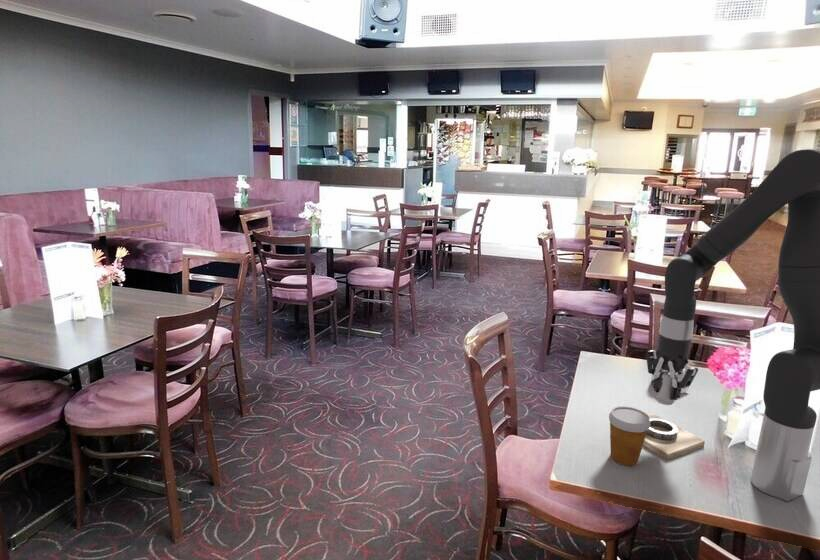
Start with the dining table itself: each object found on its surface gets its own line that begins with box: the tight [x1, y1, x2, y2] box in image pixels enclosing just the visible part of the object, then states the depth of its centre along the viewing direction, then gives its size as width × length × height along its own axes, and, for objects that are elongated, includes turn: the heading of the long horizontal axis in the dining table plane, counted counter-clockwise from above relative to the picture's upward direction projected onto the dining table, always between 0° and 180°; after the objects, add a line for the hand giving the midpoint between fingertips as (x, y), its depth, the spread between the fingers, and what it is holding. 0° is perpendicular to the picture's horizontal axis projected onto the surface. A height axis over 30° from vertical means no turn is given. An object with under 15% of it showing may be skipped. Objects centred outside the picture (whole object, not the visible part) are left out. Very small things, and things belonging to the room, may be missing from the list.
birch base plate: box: [643, 412, 706, 461], centre depth 142 cm, size 16×14×2 cm
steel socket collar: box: [646, 418, 678, 441], centre depth 142 cm, size 8×8×2 cm
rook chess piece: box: [655, 371, 675, 406], centre depth 139 cm, size 4×4×8 cm
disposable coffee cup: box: [608, 405, 651, 467], centre depth 131 cm, size 10×10×12 cm
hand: (665, 395), depth 140 cm, fingers closed on rook chess piece, 4 cm apart
